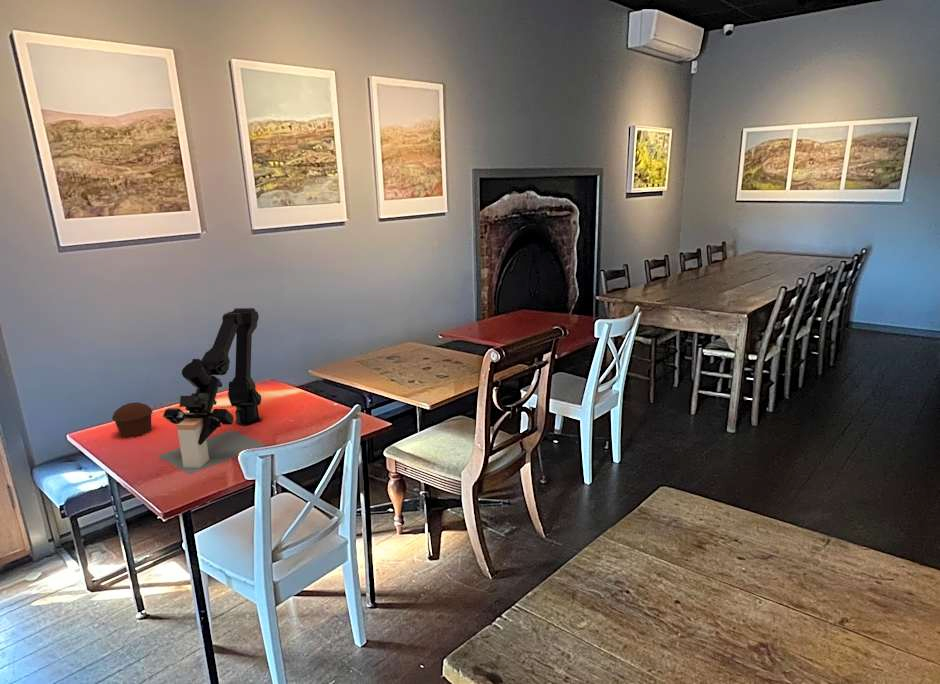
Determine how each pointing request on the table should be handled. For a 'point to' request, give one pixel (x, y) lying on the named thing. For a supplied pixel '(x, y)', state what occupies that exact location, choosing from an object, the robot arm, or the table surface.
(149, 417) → the muffin
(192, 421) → the cream block
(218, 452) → the charcoal mat
